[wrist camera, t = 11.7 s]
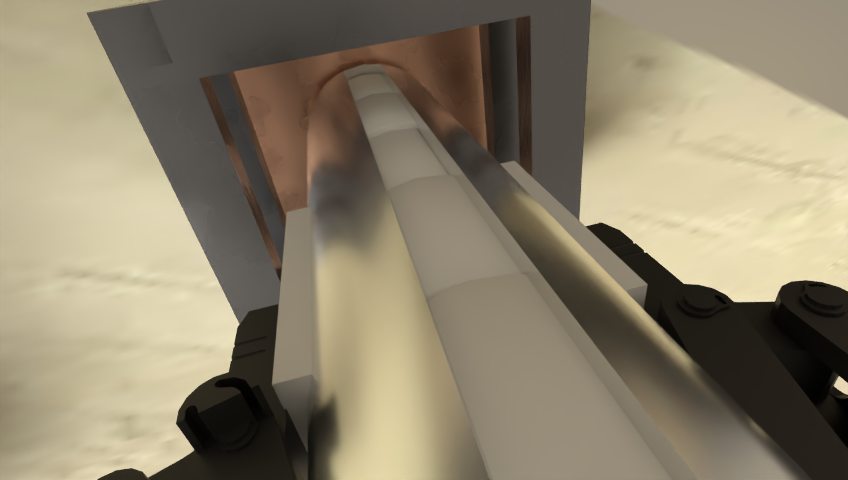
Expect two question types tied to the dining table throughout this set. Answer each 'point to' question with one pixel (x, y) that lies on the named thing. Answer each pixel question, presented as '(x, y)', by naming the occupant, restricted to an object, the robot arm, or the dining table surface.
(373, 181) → the white tall cylinder
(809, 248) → the dining table surface
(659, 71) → the dining table surface
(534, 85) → the collar stand
